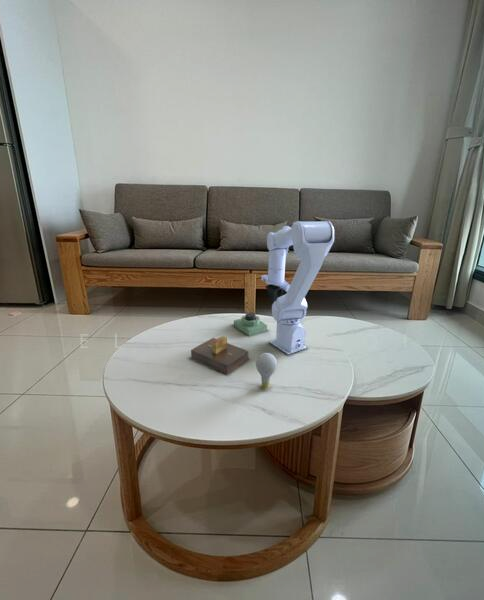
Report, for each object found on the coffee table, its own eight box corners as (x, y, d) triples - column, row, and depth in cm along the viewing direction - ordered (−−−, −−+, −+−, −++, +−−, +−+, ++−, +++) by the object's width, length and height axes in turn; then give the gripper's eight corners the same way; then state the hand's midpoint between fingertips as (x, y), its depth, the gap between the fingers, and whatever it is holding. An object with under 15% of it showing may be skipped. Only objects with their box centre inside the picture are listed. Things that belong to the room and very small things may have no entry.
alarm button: (257, 319, 116) (257, 315, 116) (249, 321, 114) (249, 317, 114) (251, 316, 119) (251, 312, 118) (243, 318, 117) (243, 314, 116)
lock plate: (248, 359, 97) (248, 350, 96) (227, 374, 90) (227, 364, 88) (213, 345, 105) (213, 337, 104) (191, 358, 97) (190, 349, 96)
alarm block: (267, 330, 116) (267, 320, 115) (248, 336, 112) (249, 325, 111) (251, 321, 124) (251, 311, 123) (233, 325, 120) (233, 315, 118)
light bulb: (250, 388, 84) (251, 354, 80) (263, 379, 88) (265, 346, 84) (266, 396, 81) (268, 362, 77) (279, 387, 85) (282, 354, 81)
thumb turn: (223, 346, 98) (222, 334, 97) (227, 347, 98) (227, 336, 96) (212, 352, 94) (211, 341, 93) (216, 354, 94) (215, 342, 92)
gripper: (254, 264, 113) (253, 300, 118) (281, 274, 102) (278, 313, 107) (270, 262, 117) (269, 297, 122) (297, 271, 106) (294, 309, 111)
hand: (274, 304), depth 115 cm, fingers closed
